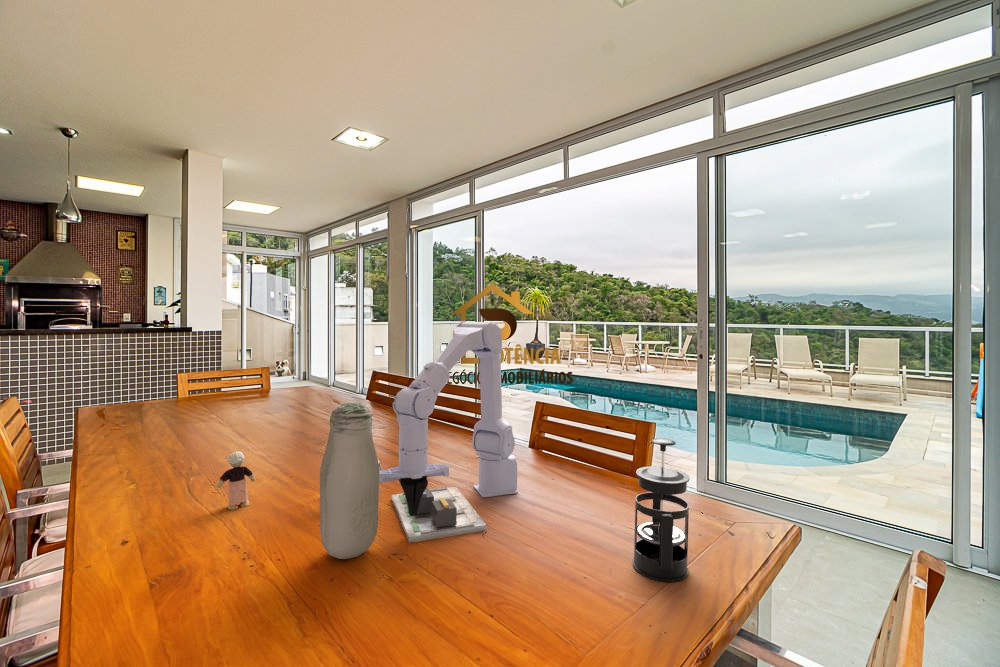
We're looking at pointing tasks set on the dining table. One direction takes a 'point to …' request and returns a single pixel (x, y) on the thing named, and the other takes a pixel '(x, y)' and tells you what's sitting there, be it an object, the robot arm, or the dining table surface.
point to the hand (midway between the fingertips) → (412, 513)
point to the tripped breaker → (444, 512)
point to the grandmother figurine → (236, 481)
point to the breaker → (426, 502)
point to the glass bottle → (349, 483)
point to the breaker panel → (426, 528)
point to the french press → (661, 522)
